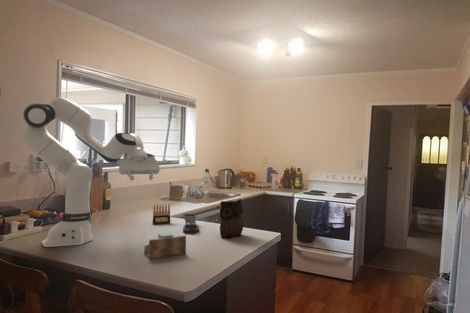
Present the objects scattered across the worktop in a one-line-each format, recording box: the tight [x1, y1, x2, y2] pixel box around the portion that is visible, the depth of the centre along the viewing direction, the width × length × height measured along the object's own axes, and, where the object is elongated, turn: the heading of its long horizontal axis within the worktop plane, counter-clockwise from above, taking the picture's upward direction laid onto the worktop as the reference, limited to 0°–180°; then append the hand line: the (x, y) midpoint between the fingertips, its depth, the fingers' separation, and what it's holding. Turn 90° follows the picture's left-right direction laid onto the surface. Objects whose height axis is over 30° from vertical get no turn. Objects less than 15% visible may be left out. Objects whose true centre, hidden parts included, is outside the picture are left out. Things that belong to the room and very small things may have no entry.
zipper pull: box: [182, 213, 200, 235], centre depth 200 cm, size 9×7×25 cm
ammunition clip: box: [152, 203, 171, 225], centre depth 212 cm, size 11×2×12 cm, turn 109°
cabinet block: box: [157, 232, 174, 239], centre depth 152 cm, size 5×6×8 cm
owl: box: [219, 198, 245, 240], centre depth 183 cm, size 13×13×20 cm
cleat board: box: [143, 235, 187, 260], centre depth 152 cm, size 16×10×8 cm, turn 120°
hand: (141, 179), depth 171 cm, fingers open, 8 cm apart
